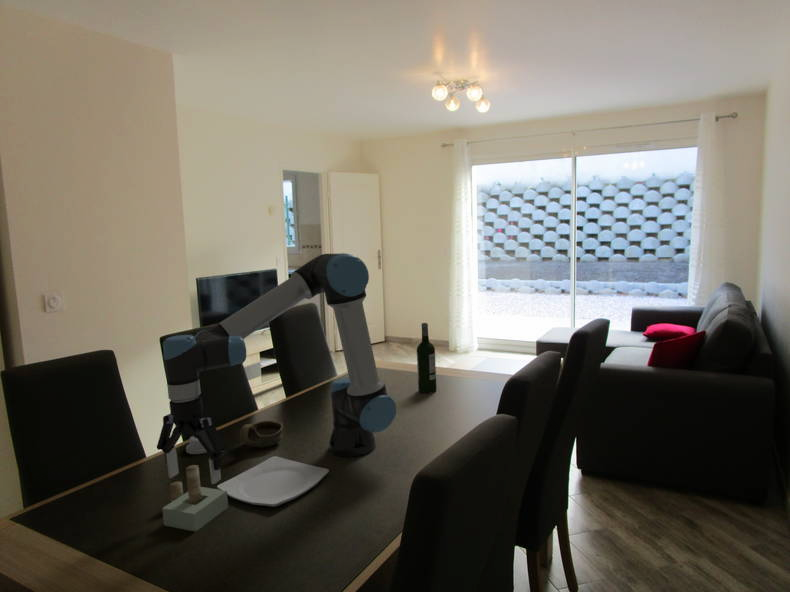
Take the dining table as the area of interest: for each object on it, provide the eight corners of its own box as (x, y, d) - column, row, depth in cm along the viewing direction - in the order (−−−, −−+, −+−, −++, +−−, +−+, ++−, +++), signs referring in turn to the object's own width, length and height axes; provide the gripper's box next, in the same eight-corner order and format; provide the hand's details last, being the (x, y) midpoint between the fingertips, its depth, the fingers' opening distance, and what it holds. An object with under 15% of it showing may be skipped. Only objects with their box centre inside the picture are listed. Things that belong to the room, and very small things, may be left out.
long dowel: (205, 514, 137) (201, 465, 136) (197, 520, 134) (192, 470, 133) (196, 512, 138) (191, 464, 137) (188, 518, 135) (183, 469, 134)
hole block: (228, 507, 140) (226, 490, 139) (195, 531, 129) (194, 514, 128) (198, 501, 144) (196, 486, 143) (164, 525, 133) (162, 508, 132)
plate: (275, 517, 134) (274, 507, 134) (210, 496, 147) (210, 487, 147) (335, 477, 155) (335, 468, 155) (274, 462, 168) (274, 453, 168)
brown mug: (293, 439, 185) (290, 411, 184) (260, 459, 169) (257, 429, 168) (261, 435, 191) (259, 408, 190) (227, 454, 175) (224, 425, 174)
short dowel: (186, 503, 143) (184, 482, 142) (178, 509, 140) (176, 487, 140) (177, 501, 144) (175, 480, 144) (169, 507, 142) (167, 485, 141)
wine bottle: (437, 393, 229) (434, 324, 226) (418, 393, 229) (415, 325, 226) (436, 387, 237) (433, 321, 234) (418, 388, 237) (415, 322, 234)
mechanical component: (180, 454, 177) (207, 455, 175) (178, 442, 177) (206, 442, 175) (196, 442, 187) (222, 443, 185) (195, 430, 186) (221, 431, 184)
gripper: (236, 395, 132) (244, 477, 134) (158, 390, 141) (167, 466, 143) (215, 405, 125) (224, 491, 127) (135, 399, 134) (145, 479, 136)
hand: (194, 478), depth 135 cm, fingers open, 13 cm apart
